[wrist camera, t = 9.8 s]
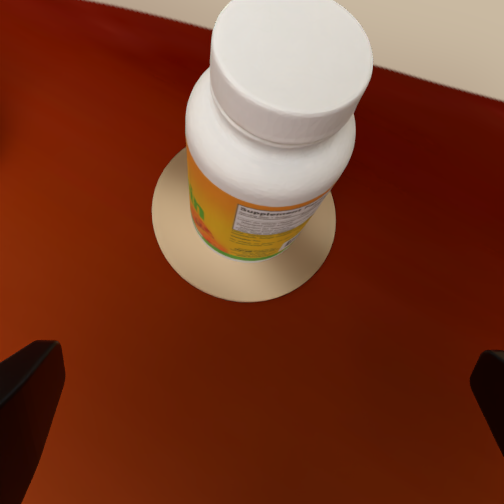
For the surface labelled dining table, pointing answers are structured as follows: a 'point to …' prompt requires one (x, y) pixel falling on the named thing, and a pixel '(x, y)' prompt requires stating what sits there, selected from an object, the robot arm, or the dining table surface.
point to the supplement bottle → (272, 121)
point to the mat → (224, 270)
